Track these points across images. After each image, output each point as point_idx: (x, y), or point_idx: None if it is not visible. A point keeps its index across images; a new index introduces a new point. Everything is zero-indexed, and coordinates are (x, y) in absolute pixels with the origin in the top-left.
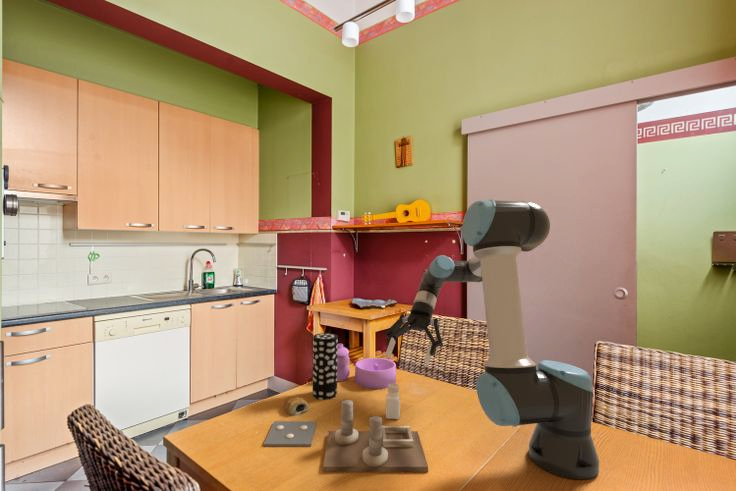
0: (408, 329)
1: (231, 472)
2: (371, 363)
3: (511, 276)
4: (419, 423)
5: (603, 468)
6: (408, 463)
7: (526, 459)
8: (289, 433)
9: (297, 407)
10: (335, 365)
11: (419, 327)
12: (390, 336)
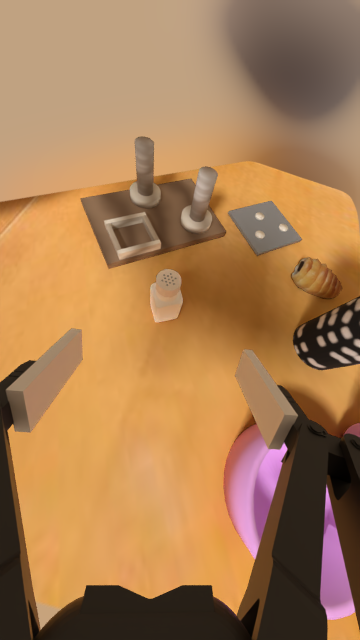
0: (246, 595)
1: (260, 170)
2: None
3: None
4: (112, 305)
5: None
6: (105, 198)
7: None
8: (264, 221)
9: (303, 262)
10: (351, 321)
11: (93, 587)
12: (310, 423)
